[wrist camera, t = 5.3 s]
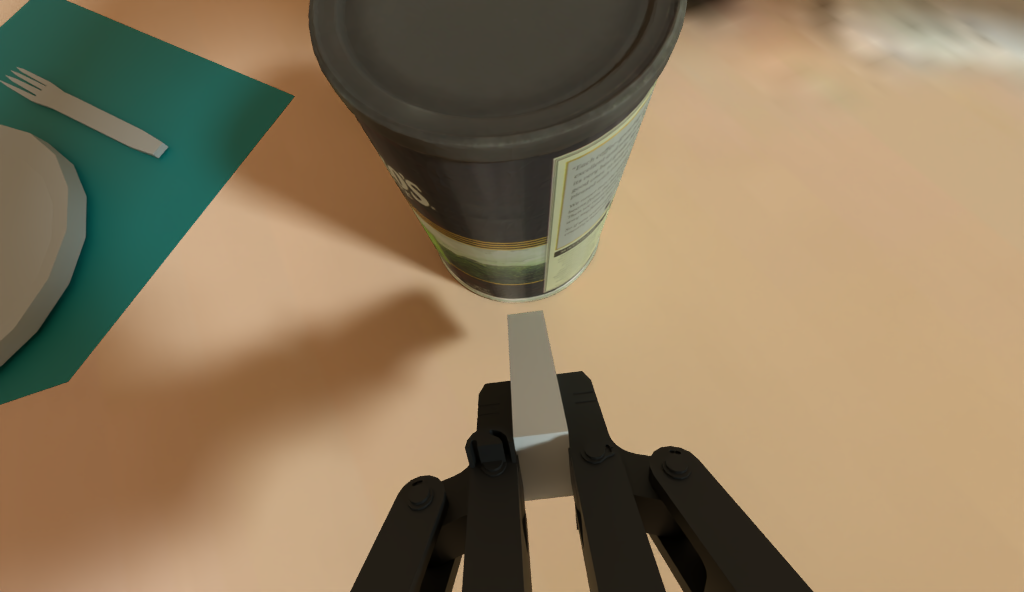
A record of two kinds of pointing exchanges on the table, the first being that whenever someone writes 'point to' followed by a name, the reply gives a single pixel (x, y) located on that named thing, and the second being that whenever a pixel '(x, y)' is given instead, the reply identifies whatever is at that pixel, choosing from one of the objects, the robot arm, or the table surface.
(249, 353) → the table surface
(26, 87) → the place mat
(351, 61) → the coffee can
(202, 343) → the table surface
